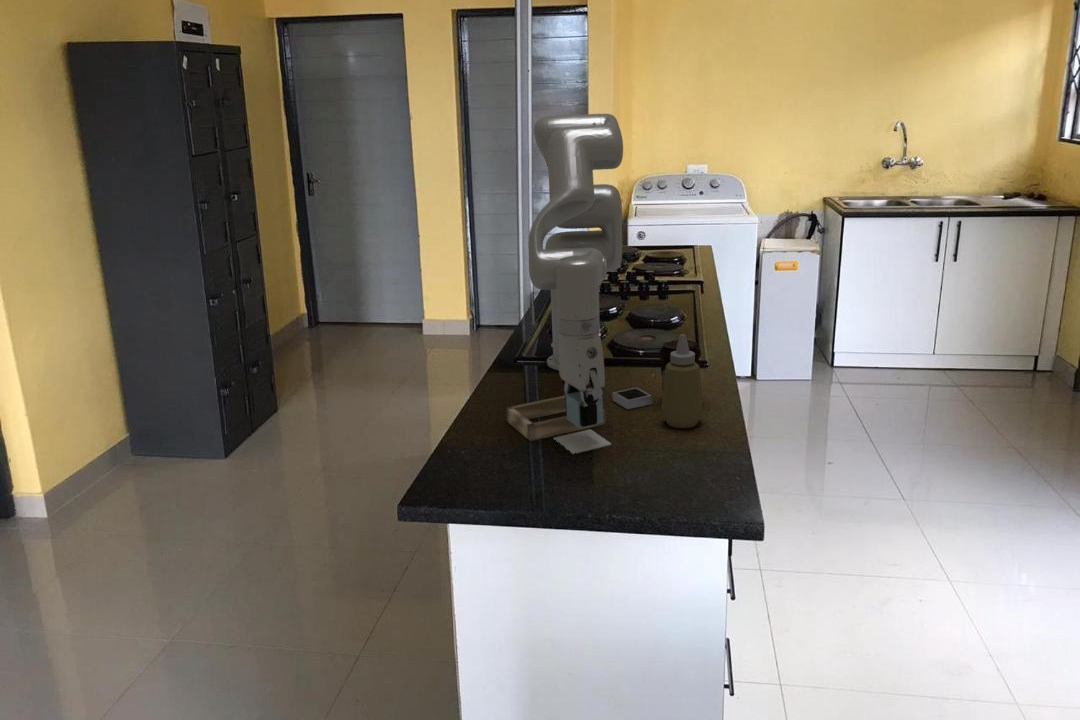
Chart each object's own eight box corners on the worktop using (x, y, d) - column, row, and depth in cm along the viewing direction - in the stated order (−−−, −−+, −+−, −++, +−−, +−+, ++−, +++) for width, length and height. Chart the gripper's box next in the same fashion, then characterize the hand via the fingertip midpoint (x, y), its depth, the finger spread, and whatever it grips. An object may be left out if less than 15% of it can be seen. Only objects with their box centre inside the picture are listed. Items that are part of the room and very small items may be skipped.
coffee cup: (699, 412, 174) (700, 350, 170) (657, 410, 176) (657, 349, 172) (700, 397, 182) (701, 338, 178) (660, 395, 184) (660, 337, 180)
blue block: (566, 419, 162) (565, 394, 161) (590, 414, 164) (589, 389, 163) (578, 427, 158) (577, 402, 157) (603, 422, 160) (602, 397, 158)
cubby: (506, 421, 174) (506, 407, 173) (578, 406, 180) (577, 392, 179) (530, 441, 164) (529, 426, 163) (605, 424, 170) (605, 410, 169)
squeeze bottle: (653, 420, 171) (653, 333, 165) (688, 413, 174) (689, 326, 168) (675, 434, 164) (675, 343, 158) (711, 426, 167) (713, 337, 161)
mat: (553, 439, 164) (553, 437, 164) (590, 430, 167) (590, 429, 167) (572, 454, 157) (572, 452, 157) (611, 445, 161) (611, 443, 160)
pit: (612, 401, 182) (612, 392, 181) (637, 396, 184) (637, 387, 184) (627, 410, 177) (627, 401, 176) (652, 404, 179) (652, 395, 179)
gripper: (620, 333, 149) (622, 431, 155) (575, 312, 164) (577, 402, 170) (582, 340, 146) (585, 439, 152) (539, 318, 161) (543, 409, 167)
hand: (581, 418), depth 161 cm, fingers closed on blue block, 5 cm apart
